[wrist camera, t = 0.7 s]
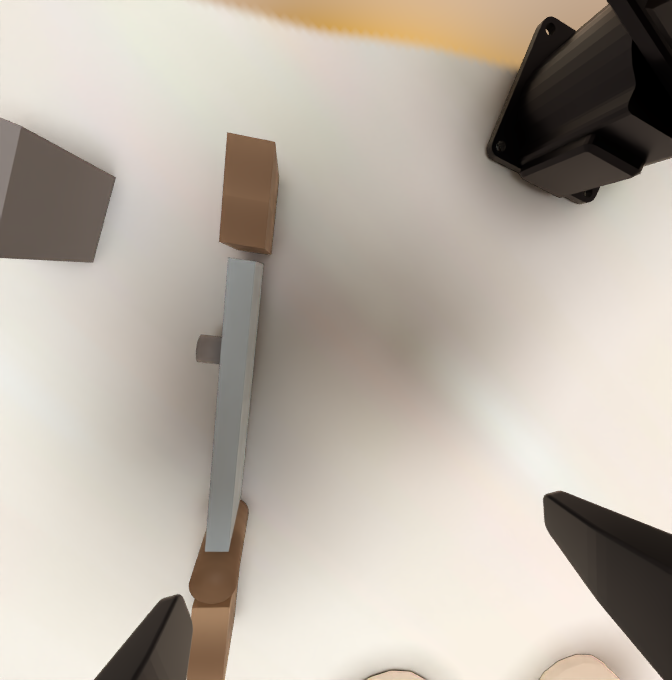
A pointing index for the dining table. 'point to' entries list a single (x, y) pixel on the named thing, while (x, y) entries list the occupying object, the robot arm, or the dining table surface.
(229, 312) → the door
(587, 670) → the foam cup
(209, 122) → the dining table surface
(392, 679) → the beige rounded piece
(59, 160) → the block
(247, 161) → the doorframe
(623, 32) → the robot arm
